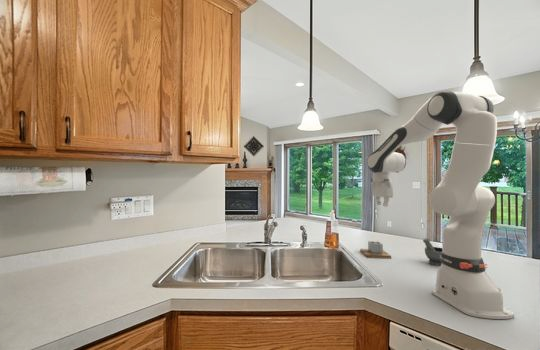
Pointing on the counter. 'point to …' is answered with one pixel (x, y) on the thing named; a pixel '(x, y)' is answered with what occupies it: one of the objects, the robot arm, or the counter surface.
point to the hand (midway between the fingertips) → (382, 205)
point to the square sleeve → (375, 248)
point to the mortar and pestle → (432, 253)
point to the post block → (369, 255)
